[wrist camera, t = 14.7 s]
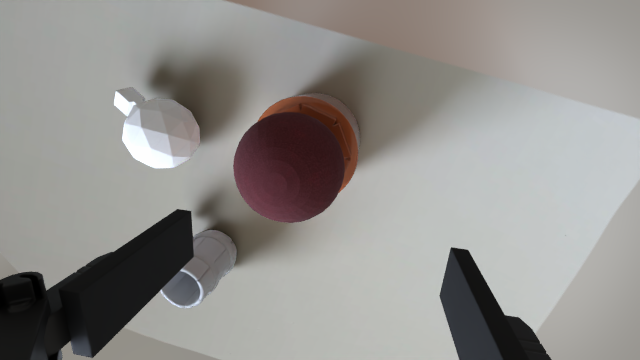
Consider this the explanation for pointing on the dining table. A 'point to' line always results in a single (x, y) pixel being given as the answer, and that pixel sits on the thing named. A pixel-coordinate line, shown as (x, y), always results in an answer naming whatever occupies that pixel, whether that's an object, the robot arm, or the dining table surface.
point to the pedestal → (327, 123)
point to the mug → (201, 269)
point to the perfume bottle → (157, 129)
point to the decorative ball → (289, 167)
